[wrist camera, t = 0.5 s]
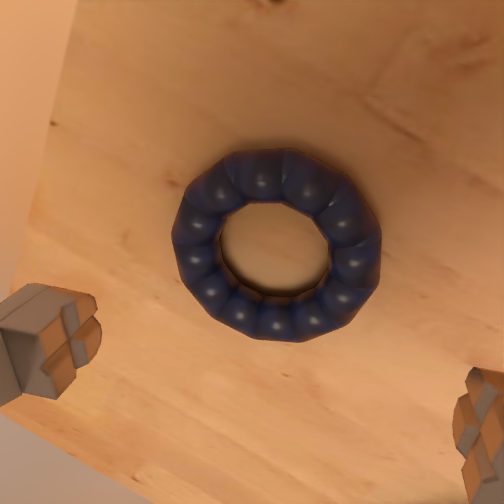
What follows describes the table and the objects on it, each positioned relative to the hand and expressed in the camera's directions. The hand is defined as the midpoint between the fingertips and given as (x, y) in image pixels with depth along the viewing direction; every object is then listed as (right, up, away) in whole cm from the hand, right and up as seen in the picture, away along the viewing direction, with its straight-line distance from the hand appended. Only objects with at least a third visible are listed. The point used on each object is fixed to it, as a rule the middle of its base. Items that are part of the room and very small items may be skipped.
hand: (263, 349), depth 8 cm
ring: (+1, +2, +16) cm, 16 cm away
